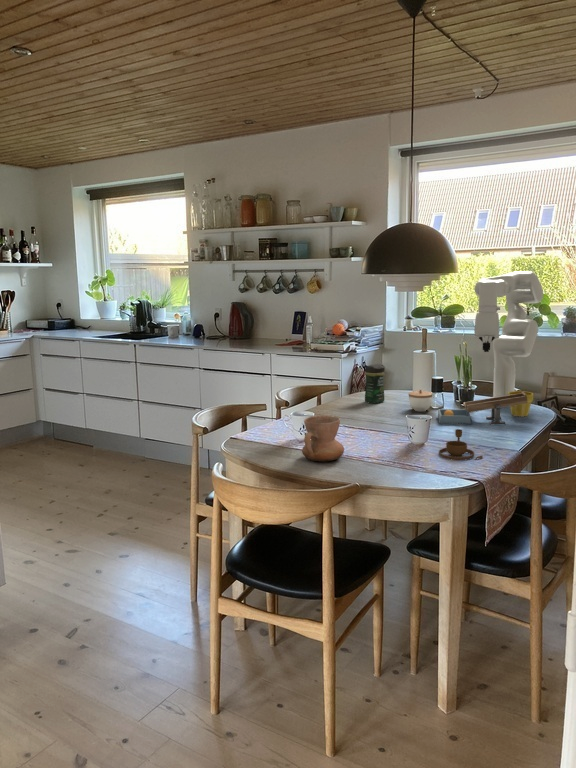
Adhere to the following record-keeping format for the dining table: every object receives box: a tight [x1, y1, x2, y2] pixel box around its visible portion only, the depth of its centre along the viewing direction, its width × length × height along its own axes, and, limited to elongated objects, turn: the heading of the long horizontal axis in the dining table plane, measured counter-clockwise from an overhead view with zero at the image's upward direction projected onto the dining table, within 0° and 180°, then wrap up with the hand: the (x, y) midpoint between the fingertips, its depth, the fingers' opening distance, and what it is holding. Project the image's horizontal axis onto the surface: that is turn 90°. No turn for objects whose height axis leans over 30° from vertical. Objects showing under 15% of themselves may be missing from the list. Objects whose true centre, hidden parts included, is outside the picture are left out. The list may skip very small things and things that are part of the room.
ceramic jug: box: [301, 414, 345, 463], centre depth 215 cm, size 18×14×14 cm
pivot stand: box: [485, 405, 506, 425], centre depth 261 cm, size 11×6×8 cm, turn 171°
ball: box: [444, 410, 454, 416], centre depth 265 cm, size 4×4×4 cm
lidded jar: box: [408, 389, 434, 412], centre depth 285 cm, size 11×11×9 cm
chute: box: [462, 392, 528, 414], centre depth 265 cm, size 15×24×4 cm, turn 81°
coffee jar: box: [364, 363, 386, 404], centre depth 303 cm, size 10×8×19 cm
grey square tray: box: [437, 408, 472, 425], centre depth 264 cm, size 12×12×4 cm
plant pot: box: [508, 390, 534, 418], centre depth 271 cm, size 10×10×10 cm
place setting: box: [438, 428, 484, 461], centre depth 219 cm, size 18×20×6 cm
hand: (486, 351), depth 275 cm, fingers closed
